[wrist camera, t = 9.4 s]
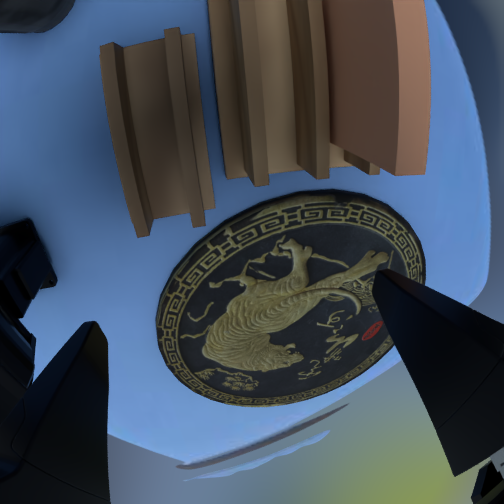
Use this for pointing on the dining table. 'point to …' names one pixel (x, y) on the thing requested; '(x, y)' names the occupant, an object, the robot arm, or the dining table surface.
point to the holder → (158, 128)
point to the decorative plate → (284, 298)
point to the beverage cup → (32, 15)
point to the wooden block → (379, 81)
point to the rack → (274, 89)
